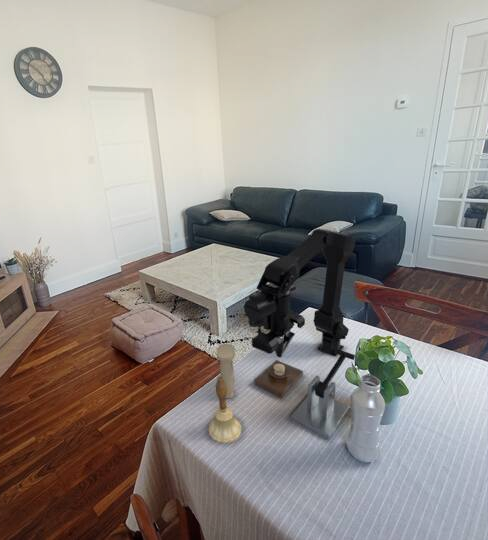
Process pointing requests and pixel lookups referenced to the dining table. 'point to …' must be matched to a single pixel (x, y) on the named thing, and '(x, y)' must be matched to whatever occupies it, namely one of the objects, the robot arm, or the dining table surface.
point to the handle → (227, 366)
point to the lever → (332, 372)
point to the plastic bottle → (366, 419)
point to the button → (279, 369)
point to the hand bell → (224, 418)
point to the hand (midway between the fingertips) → (279, 356)
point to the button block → (279, 379)
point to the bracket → (320, 410)
